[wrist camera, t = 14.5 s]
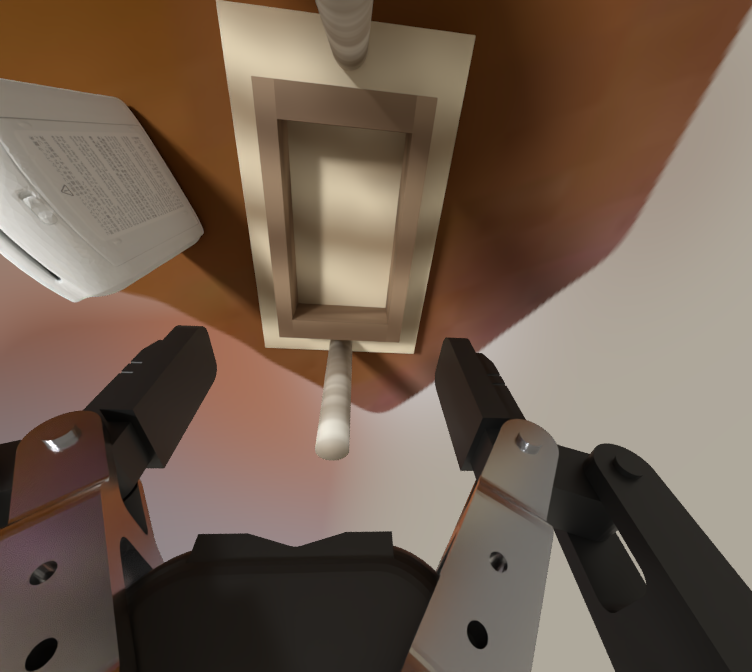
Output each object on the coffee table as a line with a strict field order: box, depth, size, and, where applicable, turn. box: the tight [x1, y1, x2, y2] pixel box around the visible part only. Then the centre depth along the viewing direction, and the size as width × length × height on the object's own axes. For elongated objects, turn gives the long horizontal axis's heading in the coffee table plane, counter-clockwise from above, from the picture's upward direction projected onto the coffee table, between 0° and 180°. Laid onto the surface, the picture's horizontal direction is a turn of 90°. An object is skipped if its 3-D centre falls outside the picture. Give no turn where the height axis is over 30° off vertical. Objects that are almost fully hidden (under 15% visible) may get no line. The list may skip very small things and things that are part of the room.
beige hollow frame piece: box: [216, 0, 476, 460], centre depth 20 cm, size 24×15×14 cm, turn 175°
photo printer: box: [0, 78, 204, 302], centre depth 18 cm, size 10×4×12 cm, turn 18°
